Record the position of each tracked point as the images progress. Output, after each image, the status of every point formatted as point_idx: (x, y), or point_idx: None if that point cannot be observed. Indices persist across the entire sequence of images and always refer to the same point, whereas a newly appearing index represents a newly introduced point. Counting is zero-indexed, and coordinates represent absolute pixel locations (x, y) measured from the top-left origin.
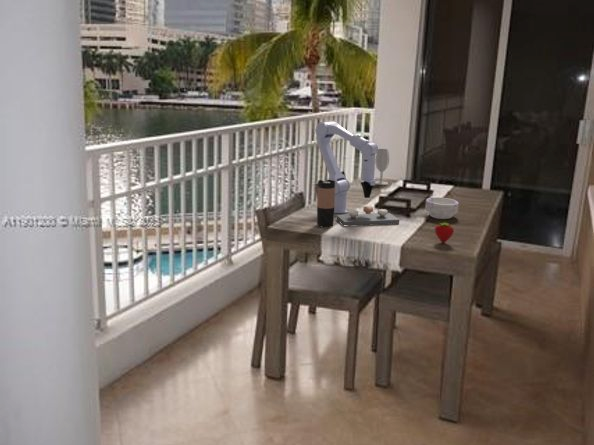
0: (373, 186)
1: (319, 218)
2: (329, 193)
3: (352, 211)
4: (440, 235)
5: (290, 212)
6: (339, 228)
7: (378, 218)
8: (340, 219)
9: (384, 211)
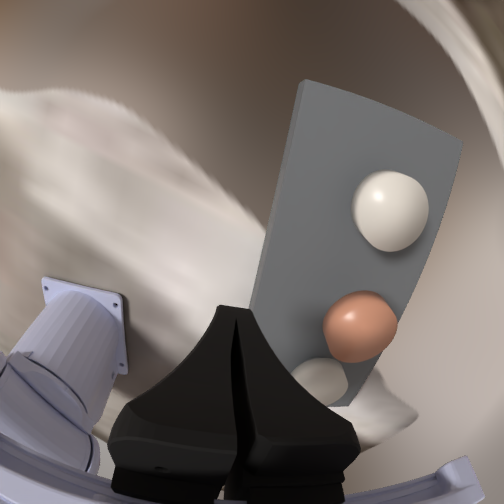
0: (334, 415)
1: None
2: None
3: (314, 394)
4: None
5: (105, 439)
6: (354, 407)
7: None
8: None
9: (425, 219)
